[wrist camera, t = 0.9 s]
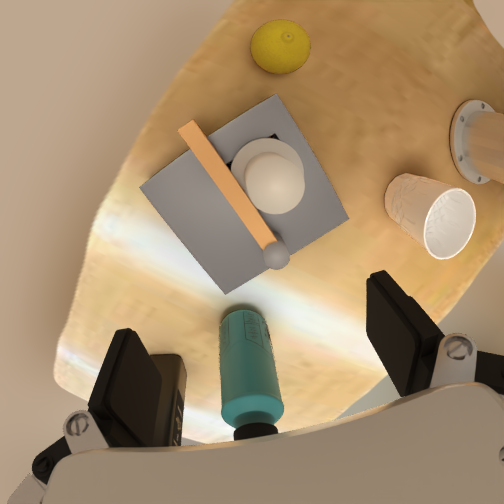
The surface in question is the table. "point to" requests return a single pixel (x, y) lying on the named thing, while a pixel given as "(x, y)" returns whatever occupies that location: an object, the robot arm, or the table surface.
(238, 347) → the beverage bottle
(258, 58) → the lemon
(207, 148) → the hammer
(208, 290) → the table surface
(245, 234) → the dock
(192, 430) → the table surface
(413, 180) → the white cup
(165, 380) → the wine bottle
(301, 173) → the plug
